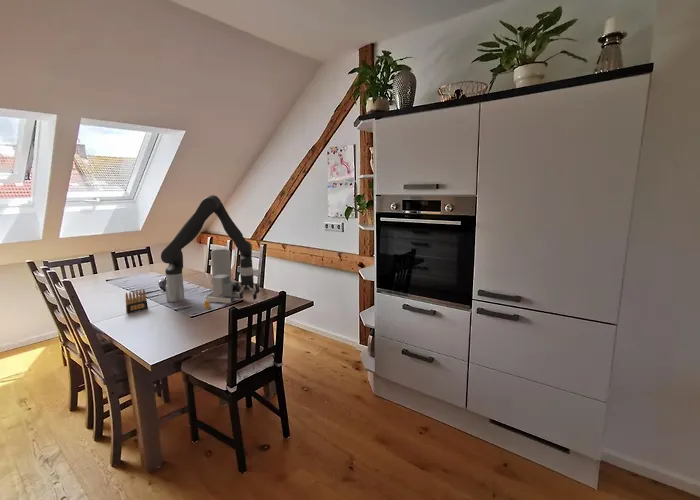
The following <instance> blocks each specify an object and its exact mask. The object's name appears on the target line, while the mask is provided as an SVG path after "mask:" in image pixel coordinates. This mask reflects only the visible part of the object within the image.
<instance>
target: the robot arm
mask: <svg viewBox="0 0 700 500" xmlns="http://www.w3.org/2000/svg"><path fill="white" fill-rule="evenodd" d="M213 214H215V215H216V216H217V218H218V219H219V221H220V223H221V225H222V228H223V230H224V231H225V233H226V235H227V236H228V237H229V238H230V239H231V240H232V242H233V244H234V245H235V247H236V249H237V250H238V251H239V252H240V253H239V254H240V259H239V265H240V268H239V270H240V271H239V273H240V275H239V276H240V281H237V283H236V292H238V293H239V299H240V300H243V298H244V294H243V293H244V291H250V292H252V293H253V294H252V297H253V300H254V301H255V300H256V299H257V294H258V293H260V285H259V282H257V283H255V282H254V269H253V259H252V255H253V253H252V251H253V249H252V243H251V241H248V240H246V238H245V237H244V236H243V235H244V234H243V233H242V231H241V230H240V229H239V228H238V226H237V224H235V222H234V220H232V218H231V216H230V215H229V212H228V211H227V210H226V208H225V206H224V204H223V202H222V201H221V200H220V198H219V197H218V196H217V195H213V194H210V195H208V196H206V197H204V198H203V199H202V200H201V202H200V203H199V205H198V207H197V208H196V210H195V212H194V213H193V214H192V216H191V217H189V218H188V220H187V221H186V222H185V223H184V224H183V226H182V227H181V228H180V229H179V231H178V233H177V234H176V236H175V237H174V238H173V240H172V241H171V242H169V244H168V245H167V246H166V247H165V248H164V249H163V250H162V251H161V254H160V260H161V261H162V263H164V264H168V265H167V267H166V268H165V271H164V272H165V279H166V285H165V288H164V289H165V296H166V301H167V302H169V303H177V302H182V301H184V300H185V288H184V287H185V286H184V277H183V268H184V255H183V250H182V249H184V248H185V247H186V246H187V245H189V244H190V243H192V242H193V241H194V240H195V239H196V237H197V236H198V235H199V234H200V233H201V230H202V229H203V226H204V224H205V222H206V221H207V220H208V218H209V217H210V216H212V215H213ZM240 286H241V288H240Z"/></svg>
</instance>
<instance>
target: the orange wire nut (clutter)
mask: <svg viewBox="0 0 700 500" xmlns="http://www.w3.org/2000/svg"><path fill="white" fill-rule="evenodd" d="M203 307H204V309H210V308H211V302H209V301H208V300H207V301H206V300H204V303H203ZM209 307H210V308H209Z"/></svg>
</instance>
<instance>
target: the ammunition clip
mask: <svg viewBox="0 0 700 500" xmlns="http://www.w3.org/2000/svg"><path fill="white" fill-rule="evenodd" d="M125 308H126V309H125V312H126V314H129V315H130V314H132V313H137V312H140V311H141V312H142V311H144V310H148V309H149V305H148V300H147V295H146V290H145V289H144V288H143V290H141V289H139V292H138V290H136V291H134V290H133V291H132V292H131V291H129V293H128V292H126V293H125Z"/></svg>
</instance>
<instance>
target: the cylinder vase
mask: <svg viewBox="0 0 700 500" xmlns="http://www.w3.org/2000/svg"><path fill="white" fill-rule="evenodd" d="M210 258H211V259H210V260H211V261H210V262H211V275H212V277H214V276H216V275H230V281H233V280H232V278H233V277H232V265H231V264H232V263H231V262H232V261H231V250H230V249H226V248H225V249H223V248H222V249H215V250H211V251H210ZM213 283H214V282H213Z"/></svg>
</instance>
